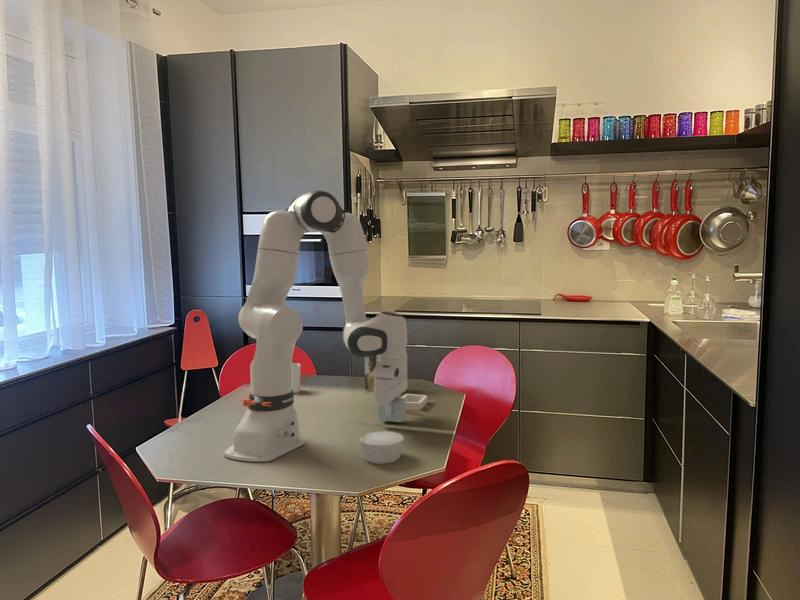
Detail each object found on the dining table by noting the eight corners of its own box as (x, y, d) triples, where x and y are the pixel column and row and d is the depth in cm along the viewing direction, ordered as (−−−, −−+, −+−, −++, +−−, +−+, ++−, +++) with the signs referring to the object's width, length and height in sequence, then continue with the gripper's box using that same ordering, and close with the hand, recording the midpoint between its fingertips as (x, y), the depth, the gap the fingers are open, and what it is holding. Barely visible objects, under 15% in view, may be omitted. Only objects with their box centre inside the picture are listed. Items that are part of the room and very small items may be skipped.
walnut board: (420, 421, 182) (420, 418, 182) (383, 418, 185) (383, 414, 185) (436, 404, 201) (436, 400, 201) (402, 401, 204) (402, 398, 204)
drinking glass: (303, 389, 222) (302, 363, 221) (298, 394, 215) (297, 367, 214) (285, 389, 222) (285, 362, 221) (280, 393, 216) (279, 366, 215)
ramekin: (351, 456, 154) (351, 436, 153) (386, 447, 161) (386, 428, 160) (376, 469, 145) (376, 448, 144) (412, 459, 152) (412, 439, 151)
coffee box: (394, 394, 214) (394, 349, 213) (382, 397, 210) (381, 352, 208) (376, 389, 220) (376, 346, 219) (364, 393, 216) (363, 349, 214)
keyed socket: (419, 411, 189) (419, 403, 189) (397, 409, 191) (397, 401, 191) (427, 402, 198) (427, 395, 198) (405, 401, 201) (405, 393, 200)
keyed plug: (401, 422, 174) (401, 402, 173) (378, 420, 176) (378, 400, 176) (405, 418, 178) (405, 398, 178) (383, 415, 180) (383, 396, 180)
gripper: (393, 359, 186) (393, 402, 188) (370, 372, 167) (370, 420, 168) (412, 360, 185) (412, 403, 186) (391, 374, 165) (391, 422, 167)
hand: (392, 412), depth 177 cm, fingers closed on keyed plug, 4 cm apart
